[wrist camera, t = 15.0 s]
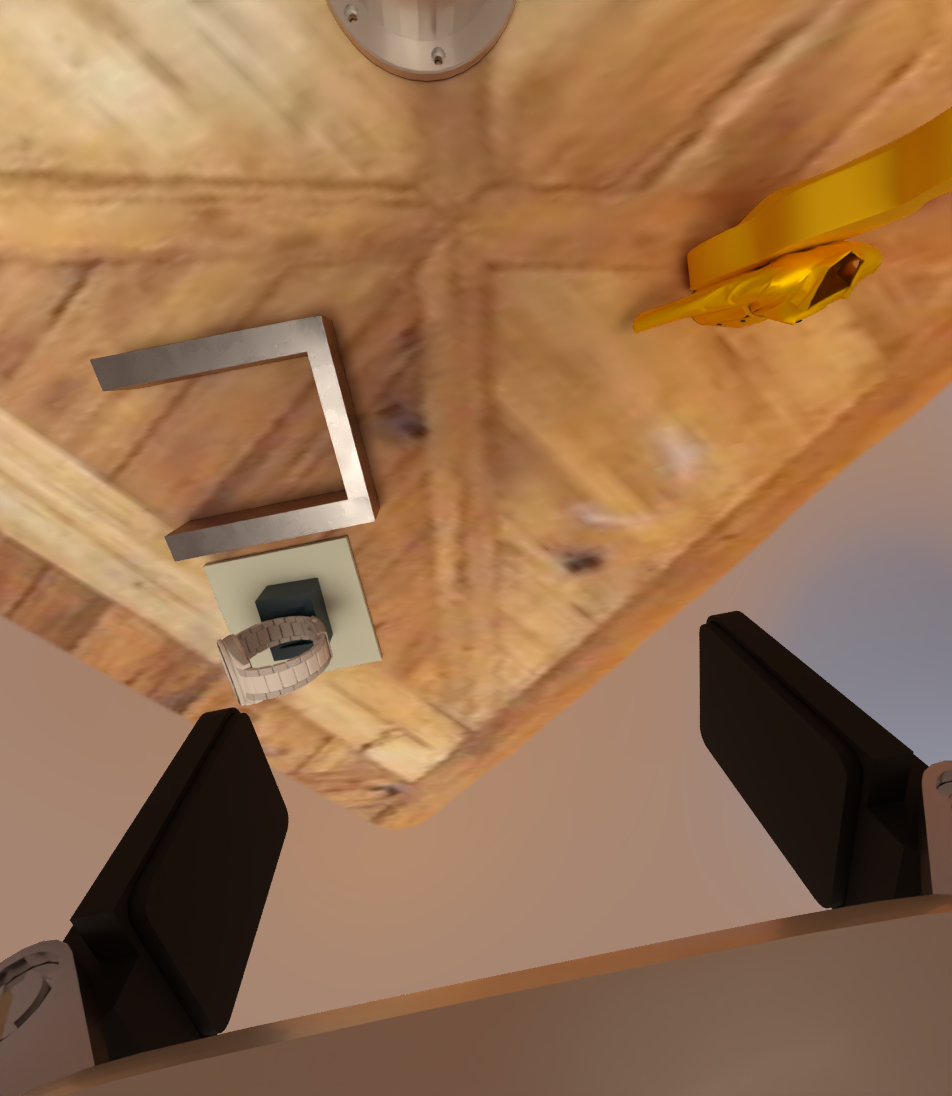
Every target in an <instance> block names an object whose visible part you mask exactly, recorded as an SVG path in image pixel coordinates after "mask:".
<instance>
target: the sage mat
mask: <svg viewBox="0 0 952 1096" xmlns="http://www.w3.org/2000/svg"><path fill="white" fill-rule="evenodd" d="M203 568H204V571H205V573H206V576H207V578H208V580H209V583H210V585H211V588H212V590H213V593H214V595H215V598H216V600H217V603H218V605H219V608H220V610H221V613H222V615H223V618H224V620H225V623H226V625H227V628H228V630H229V633H230V635H231V634H234V635H236V634H238V633H239V632H241V631H243V630H245V629H247V628H249V627H251V626H253V625H256V624H259V623H260V624H261V619H260V616H259V613H258V610H257V607H256V604H255V601H256V599H257V598H258V597H259V595H260V594H261V593H262V591H263V590H264V589H265V587H266V586H268V585H274V584H281V583H287V582H293V581H299V580H305V579H311V578H318V580H319V584H320V588H321V591H322V595H323V599H324V602H325V606H326V610H327V614H328V617H329V621H330V625H331V628H332V632H333V636H332V639H331V641H330V646H331V650H332V653H333V658H332V659H331V661H330V663H329V665H328V667H327V668H326V669H325V670H324V671H323V672H327V671H332V670H337V669H341V668H346V667H351V666H356V665H361V664H366V663H370V662H375V661H380V660H382V654H381V651H380V647H379V644H378V640H377V637H376V633H375V630H374V626H373V623H372V619H371V616H370V612H369V609H368V605H367V602H366V599H365V595H364V592H363V588H362V585H361V581H360V578H359V574H358V571H357V567H356V564H355V560H354V557H353V554H352V550H351V547H350V543H349V540H348V536H342V537H337V538H332V539H327V540H322V541H317V542H313V543H308V544H303V545H298V546H293V547H288V548H283V549H278V550H273V551H268V552H263V553H258V554H253V555H248V556H243V557H238V558H233V559H228V560H223V561H218V562H214V563H209V564H205V565H204V566H203ZM261 627H262V626H261ZM255 635H256V634H255ZM256 638H257V637H256ZM257 641H258V640H257ZM258 644H259V643H258ZM267 645H268V644H267ZM249 660H250V662H251V665H252V667H253V668H258V669H259V668H260V667H264V666H270V665H271V666H273V665H274V664H277V663H281V662H284V661H285V662H286V661H287V660H289V659H286V660H280V661H274V660H273V657H272V653H271V650H270V648H269V647H268V649H266V650H264V651H262V652H260V653H257V655H255V656H254V657H252V658H251V659H249ZM286 663H287V662H286ZM287 666H288V665H287ZM293 670H294V669H293ZM294 673H295V672H294ZM279 675H280V674H279ZM295 677H296V675H295ZM280 678H281V677H280ZM281 681H282V680H281Z"/></svg>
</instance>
